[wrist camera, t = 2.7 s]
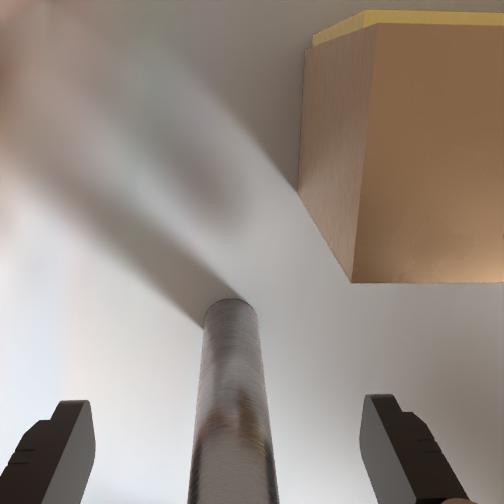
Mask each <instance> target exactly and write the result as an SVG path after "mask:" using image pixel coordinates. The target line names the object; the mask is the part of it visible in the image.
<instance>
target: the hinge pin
mask: <svg viewBox="0 0 504 504" xmlns="http://www.w3.org/2000/svg"><path fill="white" fill-rule="evenodd" d="M187 504H280V503H279V495H278V486H277V478H276V470H275V461H274V453H273V445H272V437H271V428H270V420H269V412H268V403H267V395H266V387H265V378H264V370H263V362H262V354H261V345H260V337H259V329H258V320H257V315H256V313H255V311H254V310H253V308H252V307H251V306H250V305H249V304H247V303H246V302H244V301H241V300H238V299H225V300H222V301H219V302H217V303H216V304H214V305H213V306H212V307H211V308H210V309H209V310H208V312H207V314H206V317H205V325H204V335H203V346H202V356H201V367H200V377H199V387H198V398H197V408H196V419H195V429H194V440H193V450H192V461H191V471H190V481H189V492H188V502H187Z"/></svg>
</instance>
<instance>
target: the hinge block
mask: <svg viewBox="0 0 504 504" xmlns="http://www.w3.org/2000/svg"><path fill="white" fill-rule="evenodd" d="M298 196H299V197H300V199H301V201H302V202H303V204H304V206H305V207H306V209H307V211H308V212H309V214H310V216H311V217H312V219H313V221H314V222H315V224H316V226H317V227H318V229H319V231H320V232H321V234H322V236H323V237H324V239H325V241H326V242H327V244H328V246H329V247H330V249H331V251H332V252H333V254H334V256H335V257H336V259H337V261H338V262H339V264H340V266H341V267H342V269H343V271H344V272H345V274H346V276H347V277H348V279H349V281H350V282H351V283H491V282H504V13H494V12H456V11H417V10H378V9H364V10H362V11H360V12H358V13H356V14H354V15H352V16H350V17H348V18H346V19H344V20H342V21H340V22H338V23H336V24H334V25H332V26H330V27H328V28H326V29H324V30H322V31H320V32H318V33H316V34H314V35H313V43H312V47H310V48H307V49H305V63H304V81H303V100H302V119H301V138H300V157H299V175H298Z"/></svg>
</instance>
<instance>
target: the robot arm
mask: <svg viewBox="0 0 504 504" xmlns="http://www.w3.org/2000/svg"><path fill="white" fill-rule="evenodd" d="M359 440H360V451H361V455H362V459H363V462H364V464H365V467H366V470H367V473H368V476H369V478H370V481H371V484H372V487H373V489H374V492H375V495H376V498H377V501H378V503H379V504H477V503H475V502H472V501H470V499H469V498H468V496H467V494H466V493H465V491H464V489H463V487H462V486H461V484H460V482H459V480H458V479H457V477H456V475H455V473H454V472H453V470H452V468H451V466H450V465H449V463H448V461H447V460H446V458H445V456H444V454H442V451H441V449H440V447H439V446H438V444H437V442H435V439H434V437H433V435H432V434H431V432H430V430H429V428H428V427H427V425H426V424H425V423H424V422H423V421H422V420H421V419H420V418H418V417H417V416H416V415H415V414H414V413H413V412H402V410H401V408H400V407H399V405H398V403H397V401H396V399H395V397H394V396H393V395H392V394H374V395H366V396H365V399H364V406H363V413H362V421H361V428H360V438H359ZM95 446H96V445H95V435H94V428H93V421H92V413H91V406H90V402H89V401H88V400H70V401H60V402H59V404H58V405H57V407H56V409H55V411H54V413H53V415H52V417H51V419H50V420H39V421H38V422H37V423H36V424H34V425H33V426H32V427H31V428H30V429H29V430H28V431H27V432H26V433H25V434H24V435H23V437H22V438H21V440H20V442H19V444H18V446H17V447H16V449H15V453H13V455H12V456H11V458H10V460H9V462H8V466H6V467H5V469H4V471H3V473H2V474H1V476H0V504H80V502H81V499H82V496H83V493H84V490H85V487H86V484H87V481H88V478H89V476H90V473H91V470H92V467H93V463H94V458H95Z"/></svg>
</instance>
